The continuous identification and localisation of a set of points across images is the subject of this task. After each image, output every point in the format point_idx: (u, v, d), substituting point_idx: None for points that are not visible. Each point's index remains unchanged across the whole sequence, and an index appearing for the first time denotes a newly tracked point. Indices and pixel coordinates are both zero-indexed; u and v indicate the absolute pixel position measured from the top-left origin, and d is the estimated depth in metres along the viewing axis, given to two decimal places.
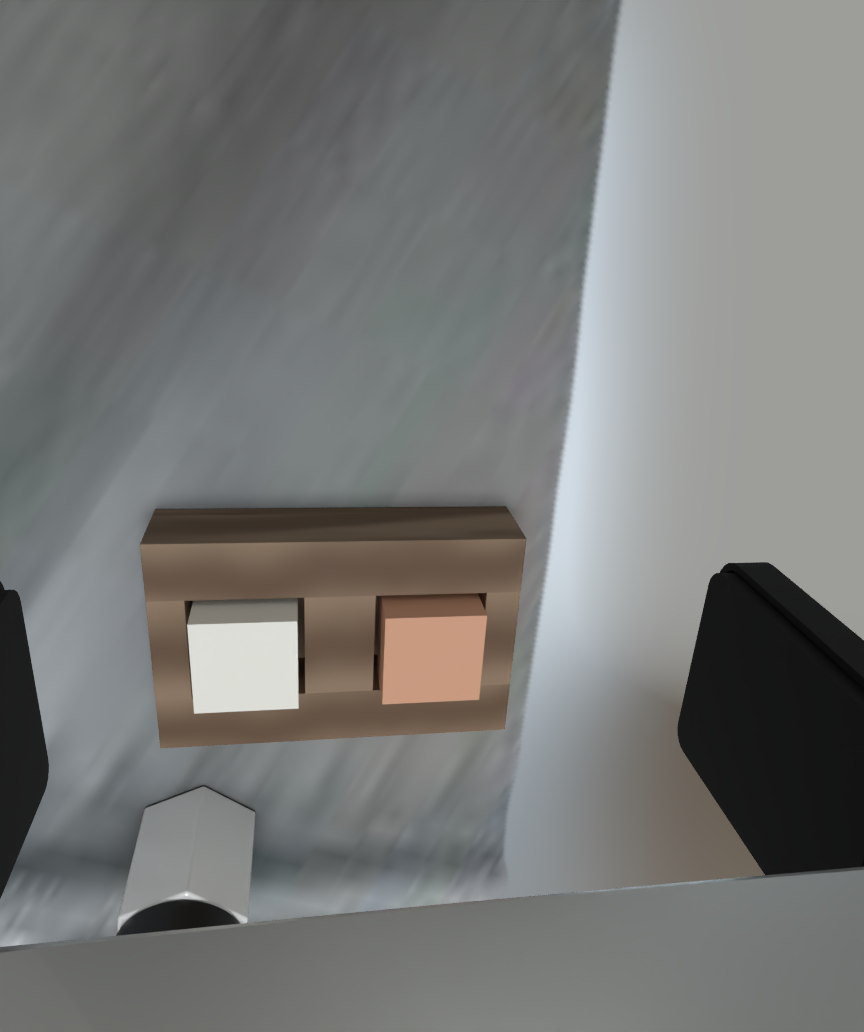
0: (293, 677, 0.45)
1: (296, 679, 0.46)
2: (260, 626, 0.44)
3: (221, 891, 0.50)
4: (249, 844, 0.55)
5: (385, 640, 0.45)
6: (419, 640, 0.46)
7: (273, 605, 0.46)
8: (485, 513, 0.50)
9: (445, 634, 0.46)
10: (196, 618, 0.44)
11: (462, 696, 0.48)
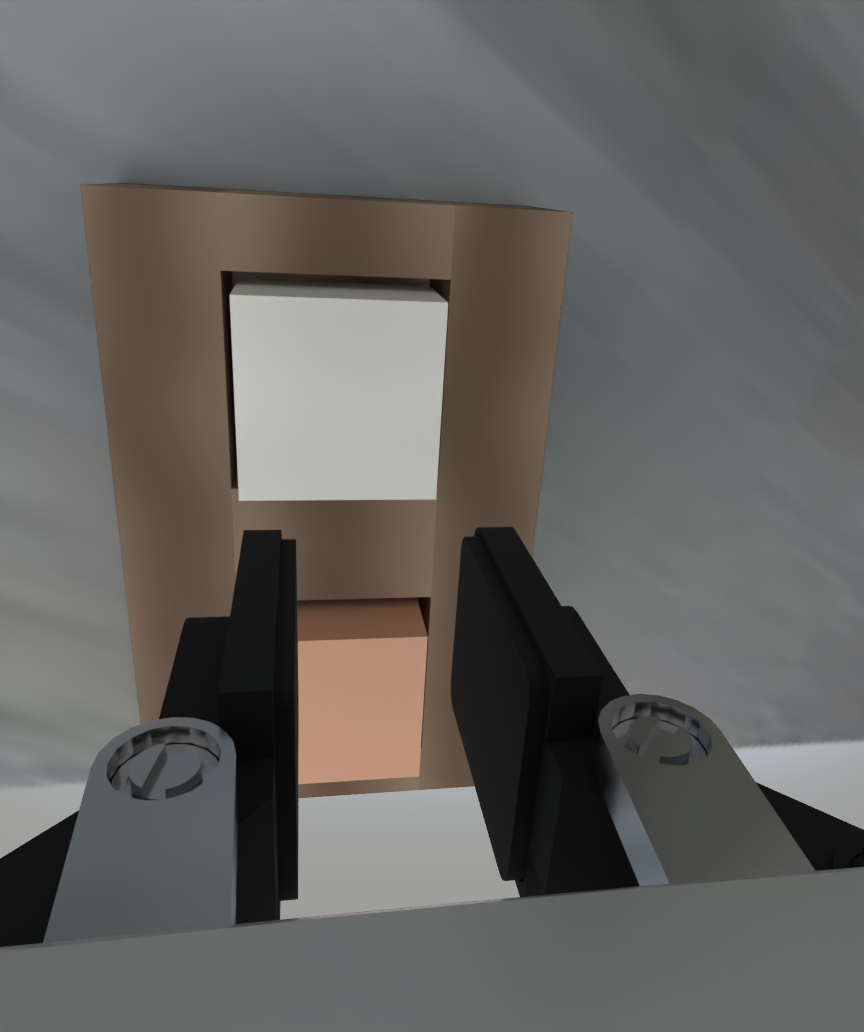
0: (313, 492, 0.24)
1: (308, 497, 0.24)
2: (431, 437, 0.24)
3: None
4: None
5: (383, 639, 0.26)
6: (379, 689, 0.27)
7: None
8: None
9: (389, 725, 0.28)
10: None
11: None
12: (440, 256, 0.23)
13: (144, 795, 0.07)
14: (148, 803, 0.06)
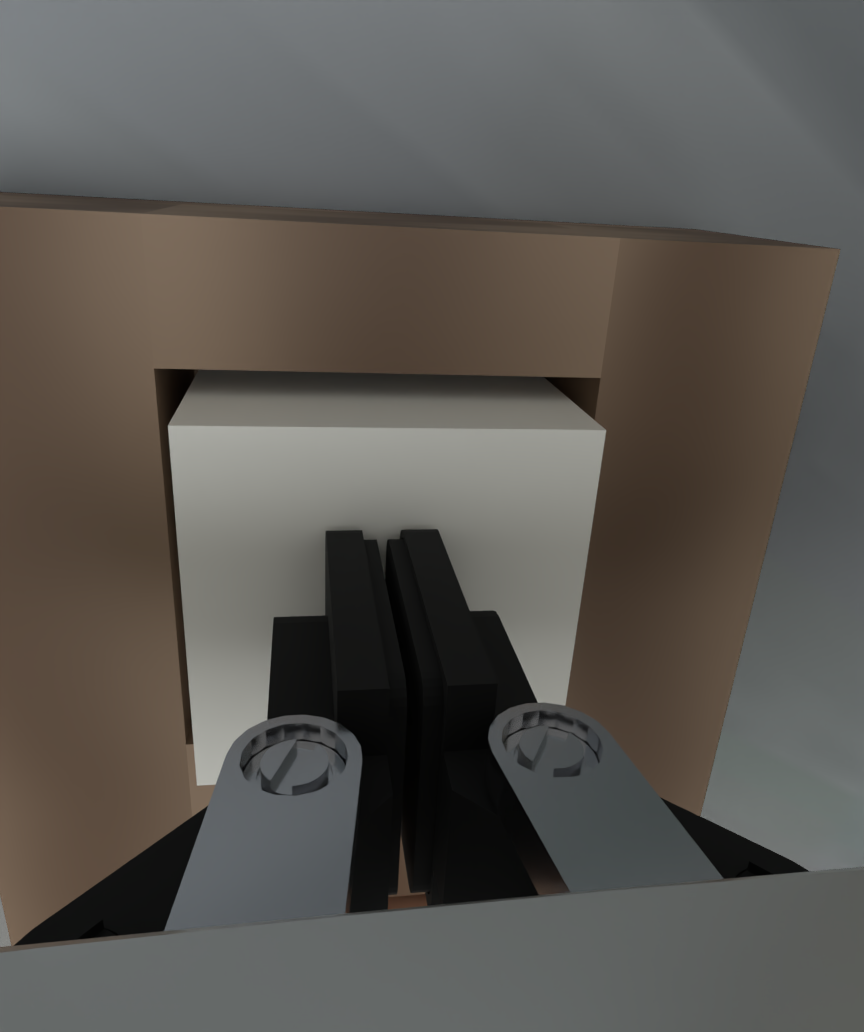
0: None
1: None
2: (556, 666, 0.13)
3: None
4: None
5: None
6: None
7: None
8: None
9: None
10: None
11: None
12: (584, 335, 0.12)
13: (273, 788, 0.07)
14: (276, 797, 0.07)
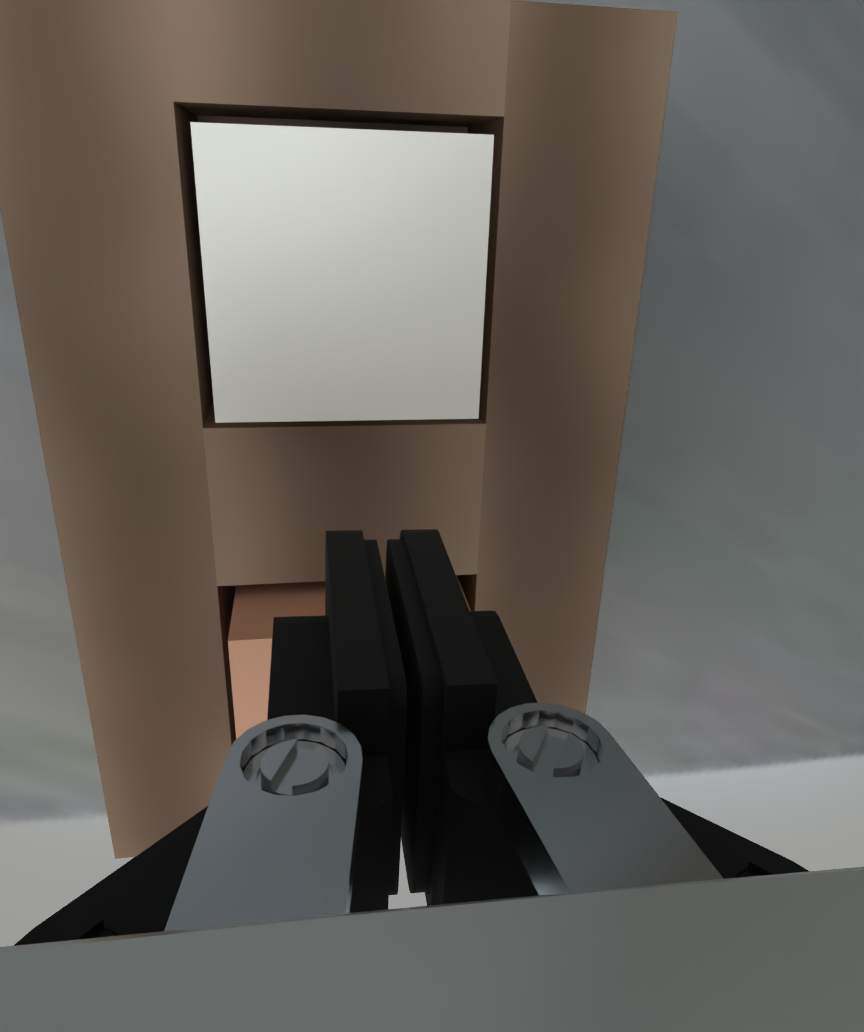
0: (315, 410, 0.18)
1: (309, 417, 0.18)
2: (472, 331, 0.17)
3: None
4: None
5: None
6: None
7: None
8: None
9: None
10: None
11: None
12: (489, 80, 0.16)
13: (273, 788, 0.07)
14: (275, 797, 0.07)
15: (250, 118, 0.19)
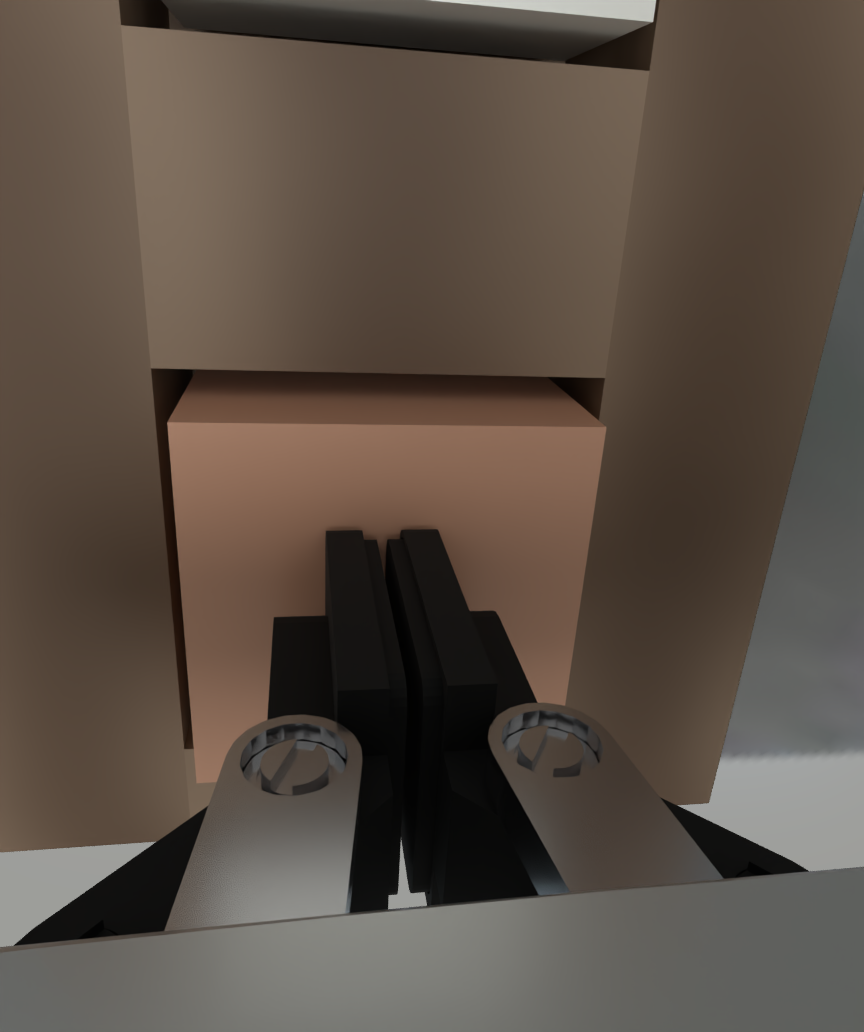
0: None
1: None
2: None
3: None
4: None
5: (504, 429, 0.11)
6: (487, 560, 0.12)
7: None
8: None
9: None
10: None
11: (212, 728, 0.12)
12: None
13: (273, 788, 0.07)
14: (276, 797, 0.07)
15: None
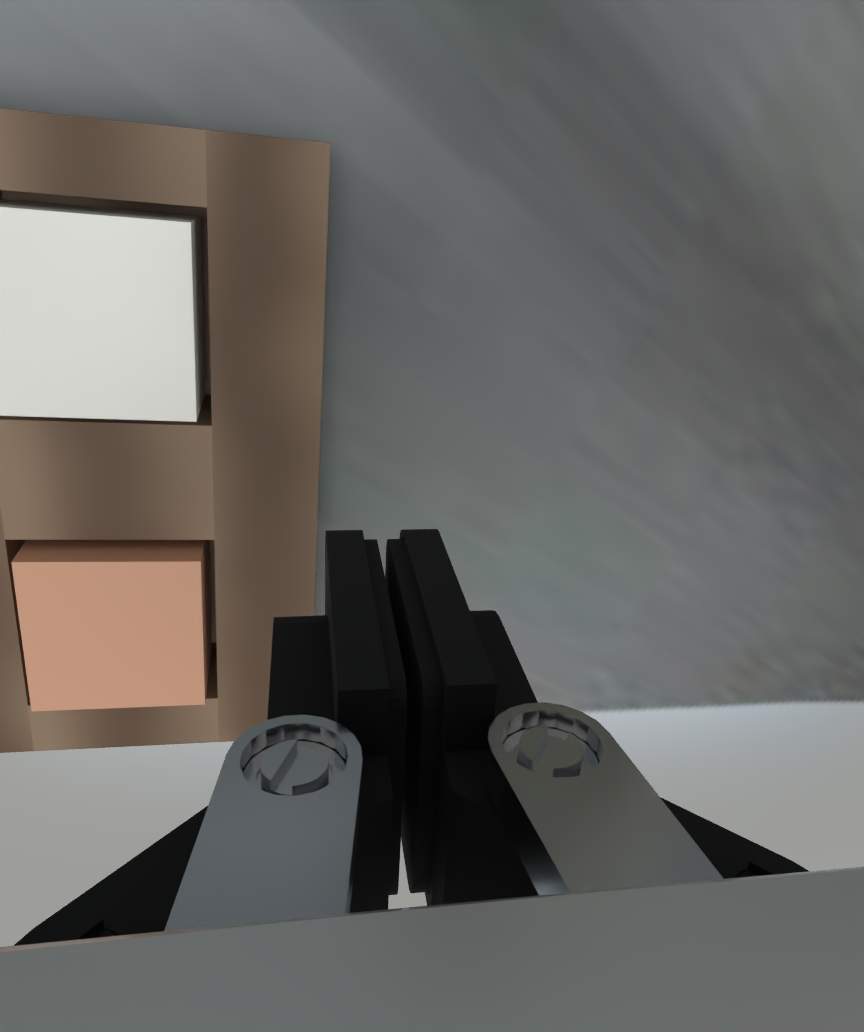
0: (69, 410, 0.24)
1: (64, 414, 0.24)
2: (186, 358, 0.24)
3: None
4: None
5: (155, 562, 0.27)
6: (156, 614, 0.27)
7: (200, 366, 0.26)
8: None
9: (169, 651, 0.28)
10: (193, 236, 0.23)
11: (37, 686, 0.28)
12: (194, 182, 0.23)
13: (273, 788, 0.07)
14: (276, 797, 0.07)
15: None
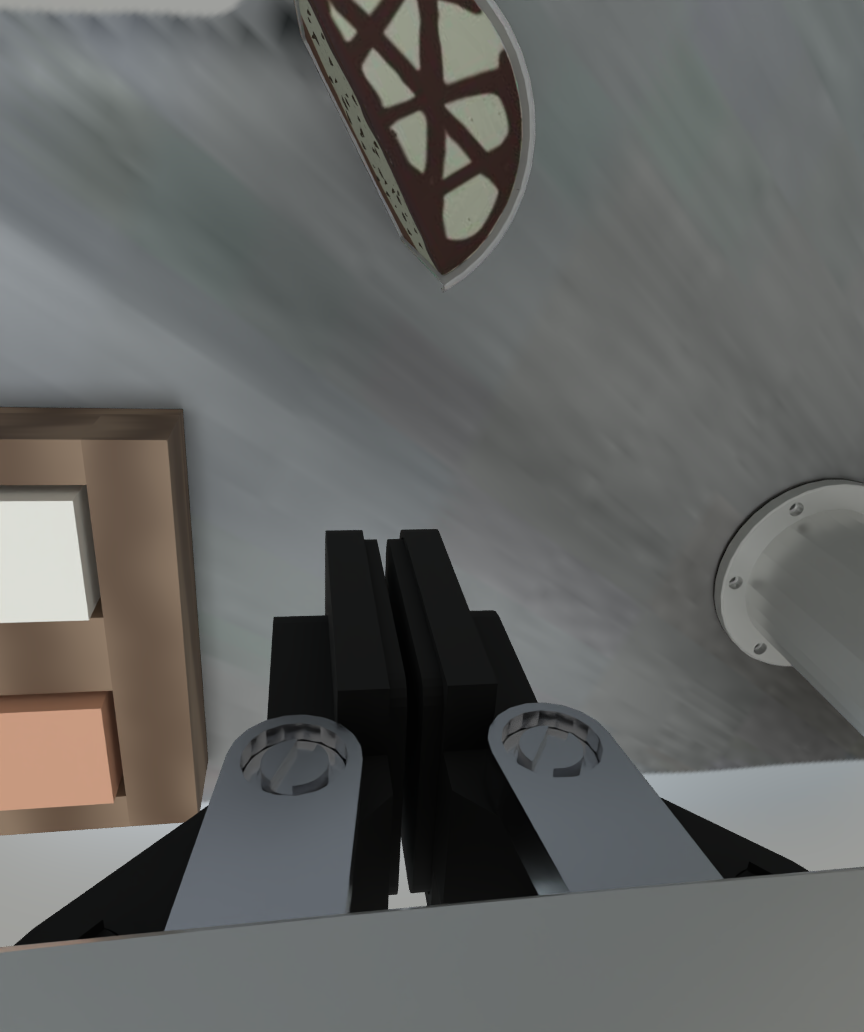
0: (0, 618, 0.36)
1: None
2: (77, 582, 0.35)
3: None
4: None
5: (68, 710, 0.38)
6: (72, 744, 0.39)
7: (95, 575, 0.37)
8: (204, 750, 0.46)
9: (84, 768, 0.39)
10: (78, 504, 0.35)
11: None
12: (76, 470, 0.34)
13: (273, 788, 0.07)
14: (276, 797, 0.07)
15: None
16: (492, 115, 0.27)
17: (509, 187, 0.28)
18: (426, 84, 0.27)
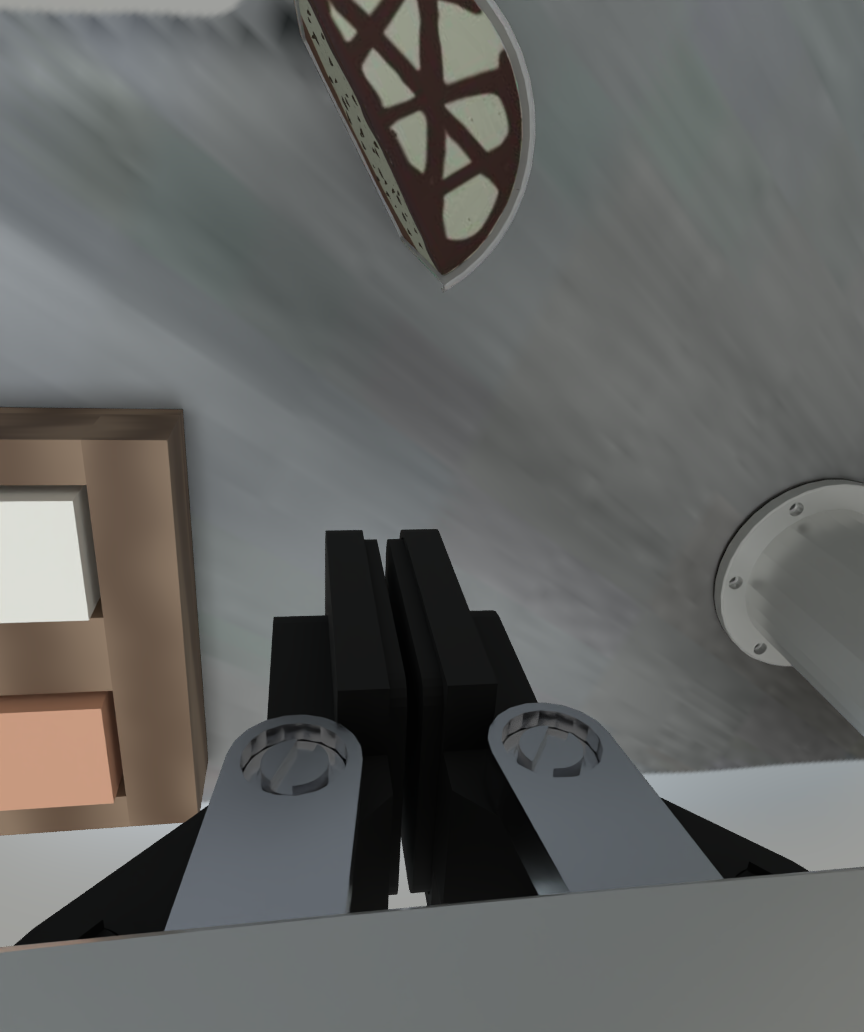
0: (0, 618, 0.36)
1: None
2: (77, 582, 0.35)
3: None
4: None
5: (69, 710, 0.38)
6: (72, 744, 0.39)
7: (95, 575, 0.37)
8: (204, 750, 0.46)
9: (84, 768, 0.39)
10: (78, 504, 0.35)
11: None
12: (76, 471, 0.34)
13: (273, 788, 0.07)
14: (276, 797, 0.07)
15: None
16: (492, 115, 0.27)
17: (509, 187, 0.28)
18: (426, 84, 0.27)
